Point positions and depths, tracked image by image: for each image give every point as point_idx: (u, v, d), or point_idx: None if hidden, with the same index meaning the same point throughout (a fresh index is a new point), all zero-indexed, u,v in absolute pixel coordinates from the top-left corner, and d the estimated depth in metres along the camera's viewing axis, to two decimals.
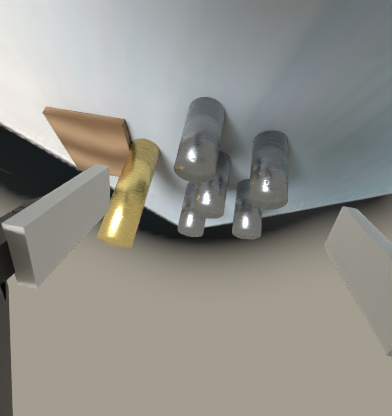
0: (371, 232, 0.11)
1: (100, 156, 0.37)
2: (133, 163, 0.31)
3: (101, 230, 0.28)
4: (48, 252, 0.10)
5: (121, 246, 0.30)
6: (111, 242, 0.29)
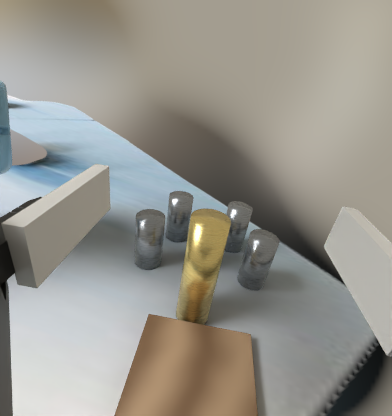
0: (371, 232, 0.11)
1: (205, 369, 0.24)
2: None
3: (193, 228, 0.24)
4: (48, 252, 0.10)
5: (223, 218, 0.25)
6: (213, 221, 0.24)
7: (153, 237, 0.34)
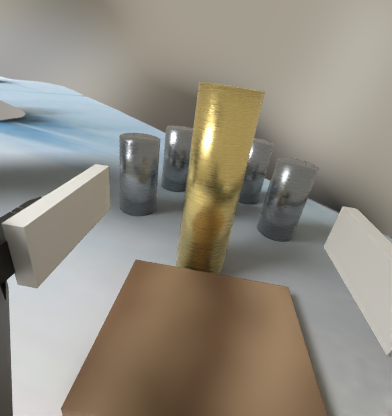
0: (371, 232, 0.11)
1: (225, 332, 0.15)
2: None
3: (204, 95, 0.14)
4: (48, 252, 0.10)
5: (250, 89, 0.16)
6: (236, 87, 0.15)
7: (144, 165, 0.25)
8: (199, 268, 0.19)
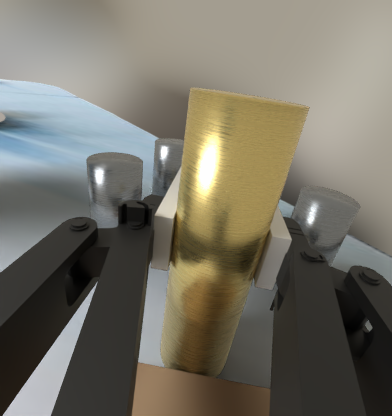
0: None
1: None
2: None
3: (198, 114, 0.08)
4: None
5: (280, 101, 0.09)
6: (257, 98, 0.08)
7: (119, 198, 0.18)
8: (193, 370, 0.13)
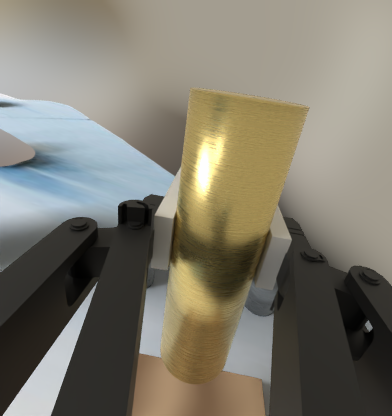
0: None
1: None
2: None
3: (198, 114, 0.08)
4: None
5: (280, 101, 0.09)
6: (257, 98, 0.08)
7: None
8: (192, 370, 0.13)
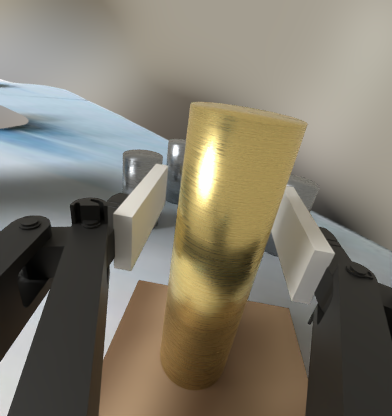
0: (295, 203, 0.13)
1: None
2: None
3: (198, 130, 0.08)
4: (138, 240, 0.11)
5: (279, 116, 0.09)
6: (256, 115, 0.08)
7: None
8: (191, 376, 0.13)
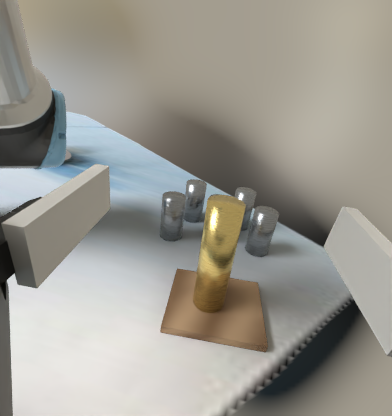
0: (371, 232, 0.11)
1: (224, 302, 0.32)
2: None
3: (210, 211, 0.25)
4: (48, 252, 0.10)
5: (237, 202, 0.26)
6: (229, 204, 0.26)
7: (177, 212, 0.42)
8: (208, 305, 0.30)
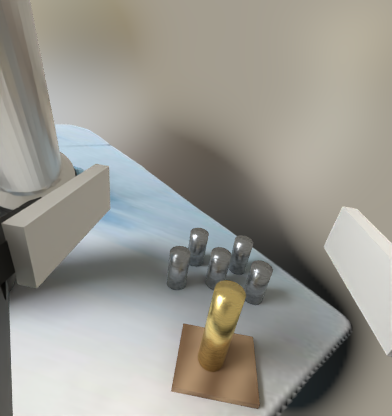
0: (371, 232, 0.11)
1: None
2: (202, 339, 0.36)
3: (217, 300, 0.31)
4: (48, 252, 0.10)
5: (239, 290, 0.32)
6: (232, 294, 0.31)
7: (182, 267, 0.48)
8: (211, 366, 0.35)
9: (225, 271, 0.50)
